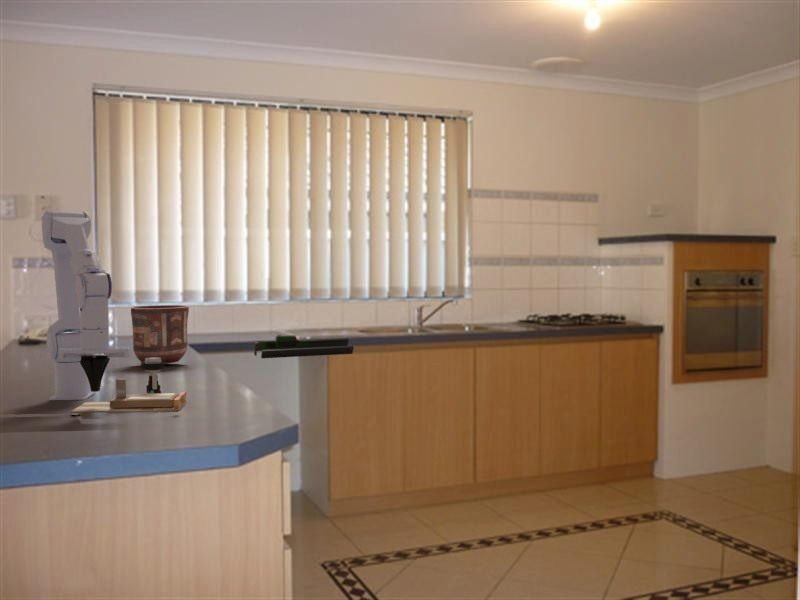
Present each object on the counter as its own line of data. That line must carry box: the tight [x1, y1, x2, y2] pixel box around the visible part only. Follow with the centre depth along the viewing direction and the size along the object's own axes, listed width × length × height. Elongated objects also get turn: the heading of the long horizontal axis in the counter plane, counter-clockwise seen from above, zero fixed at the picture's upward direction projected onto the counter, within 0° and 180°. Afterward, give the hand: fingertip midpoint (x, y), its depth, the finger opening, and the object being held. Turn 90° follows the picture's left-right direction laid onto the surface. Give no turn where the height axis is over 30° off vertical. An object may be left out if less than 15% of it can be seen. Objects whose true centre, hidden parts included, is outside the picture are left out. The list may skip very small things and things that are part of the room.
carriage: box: [109, 378, 179, 408], centre depth 172 cm, size 8×13×6 cm, turn 97°
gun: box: [253, 334, 355, 359], centre depth 272 cm, size 6×35×8 cm, turn 115°
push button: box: [140, 357, 165, 394], centre depth 183 cm, size 7×5×10 cm
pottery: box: [130, 304, 190, 365], centre depth 256 cm, size 18×18×18 cm
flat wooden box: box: [70, 391, 187, 414], centre depth 172 cm, size 11×22×3 cm, turn 97°
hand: (95, 390), depth 171 cm, fingers closed
